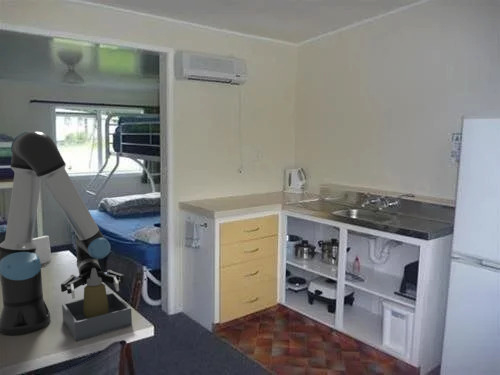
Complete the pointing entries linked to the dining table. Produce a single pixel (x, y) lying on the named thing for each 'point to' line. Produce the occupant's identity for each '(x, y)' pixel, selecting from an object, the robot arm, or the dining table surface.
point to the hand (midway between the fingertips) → (95, 290)
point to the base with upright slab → (43, 248)
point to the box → (96, 318)
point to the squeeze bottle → (95, 296)
